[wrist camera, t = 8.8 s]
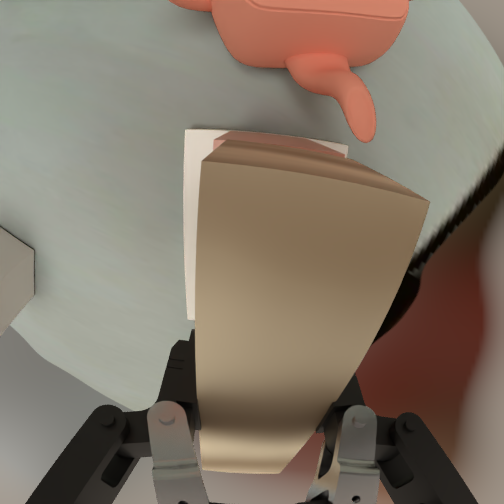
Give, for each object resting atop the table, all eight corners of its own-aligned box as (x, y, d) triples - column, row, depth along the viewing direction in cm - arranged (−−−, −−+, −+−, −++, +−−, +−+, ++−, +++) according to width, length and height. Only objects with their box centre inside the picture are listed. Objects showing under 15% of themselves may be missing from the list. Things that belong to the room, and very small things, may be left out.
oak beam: (227, 139, 9) (201, 160, 4) (352, 159, 9) (430, 201, 5) (209, 404, 16) (202, 469, 12) (275, 409, 16) (279, 473, 12)
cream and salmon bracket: (190, 128, 18) (138, 139, 9) (341, 143, 18) (408, 168, 10) (190, 309, 25) (169, 391, 17) (306, 316, 26) (324, 399, 17)
